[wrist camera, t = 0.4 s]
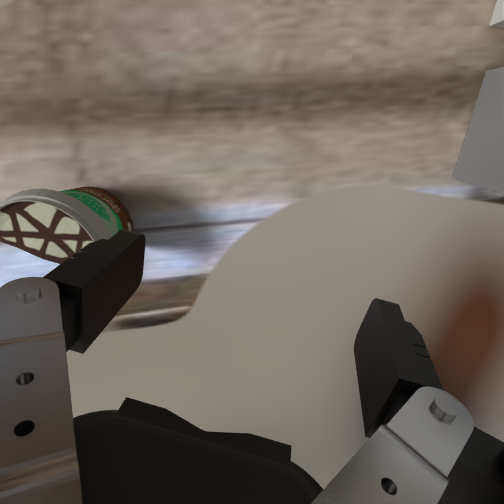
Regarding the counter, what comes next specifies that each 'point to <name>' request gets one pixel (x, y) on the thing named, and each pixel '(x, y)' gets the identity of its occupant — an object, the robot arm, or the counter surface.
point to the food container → (60, 220)
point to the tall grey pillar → (485, 137)
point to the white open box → (498, 15)
